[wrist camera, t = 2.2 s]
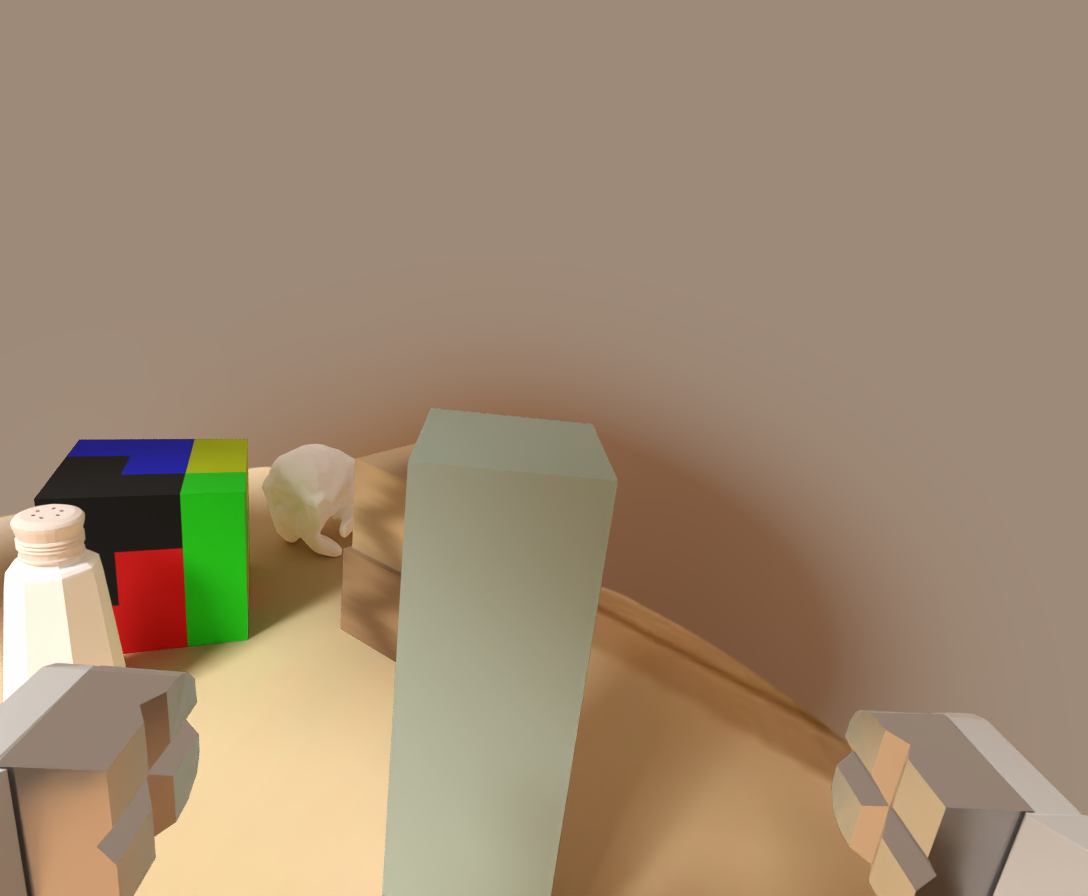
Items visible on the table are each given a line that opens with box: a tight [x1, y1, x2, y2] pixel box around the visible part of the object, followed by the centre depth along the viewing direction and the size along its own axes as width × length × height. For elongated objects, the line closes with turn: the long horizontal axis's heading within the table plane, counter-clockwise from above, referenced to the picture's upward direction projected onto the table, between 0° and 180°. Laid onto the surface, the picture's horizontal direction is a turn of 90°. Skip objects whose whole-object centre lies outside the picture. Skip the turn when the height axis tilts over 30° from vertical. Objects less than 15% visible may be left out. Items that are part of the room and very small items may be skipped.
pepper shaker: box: [3, 504, 126, 702], centre depth 33 cm, size 5×5×11 cm
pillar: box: [382, 408, 618, 896], centre depth 23 cm, size 6×6×20 cm
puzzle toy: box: [34, 439, 250, 654], centre depth 42 cm, size 10×10×10 cm
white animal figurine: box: [262, 444, 355, 557], centre depth 55 cm, size 6×8×12 cm
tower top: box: [352, 444, 415, 572], centre depth 42 cm, size 7×7×6 cm
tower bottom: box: [341, 545, 401, 662], centre depth 44 cm, size 8×8×6 cm
